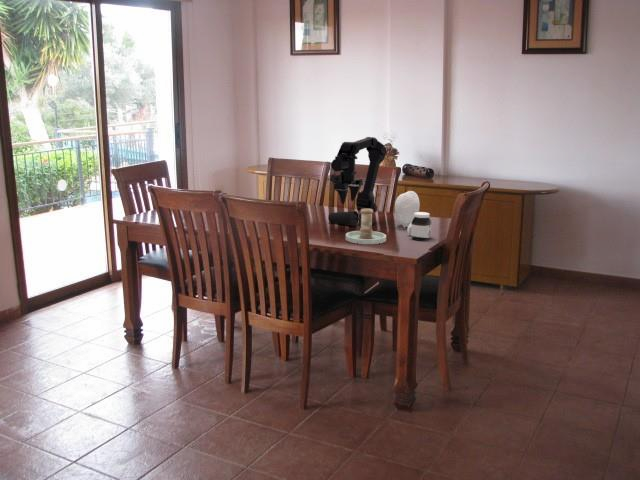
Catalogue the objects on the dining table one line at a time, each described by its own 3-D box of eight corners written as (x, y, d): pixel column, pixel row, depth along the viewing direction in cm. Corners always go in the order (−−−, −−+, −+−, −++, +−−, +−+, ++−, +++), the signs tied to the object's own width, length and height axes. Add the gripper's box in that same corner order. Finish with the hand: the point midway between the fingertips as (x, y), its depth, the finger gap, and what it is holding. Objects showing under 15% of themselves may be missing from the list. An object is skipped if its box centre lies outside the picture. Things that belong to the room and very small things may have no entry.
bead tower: (368, 236, 321) (369, 207, 318) (374, 238, 316) (375, 210, 313) (357, 237, 318) (358, 208, 315) (363, 239, 314) (364, 211, 310)
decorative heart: (410, 231, 334) (412, 196, 330) (389, 229, 339) (390, 193, 335) (422, 224, 350) (424, 190, 346) (402, 222, 354) (403, 188, 350)
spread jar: (423, 242, 315) (425, 216, 312) (400, 238, 321) (402, 213, 318) (434, 236, 325) (436, 212, 322) (412, 233, 331) (413, 209, 328)
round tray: (384, 235, 326) (384, 231, 326) (387, 244, 308) (387, 240, 308) (345, 234, 326) (345, 230, 326) (346, 243, 309) (346, 239, 308)
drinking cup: (336, 217, 355) (371, 219, 345) (330, 228, 351) (366, 230, 340) (331, 206, 350) (366, 208, 340) (325, 217, 346) (361, 219, 336)
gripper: (343, 165, 342) (342, 197, 346) (323, 169, 326) (322, 203, 330) (363, 167, 336) (362, 200, 340) (344, 172, 321) (343, 206, 324)
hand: (347, 202), depth 334 cm, fingers open, 9 cm apart
